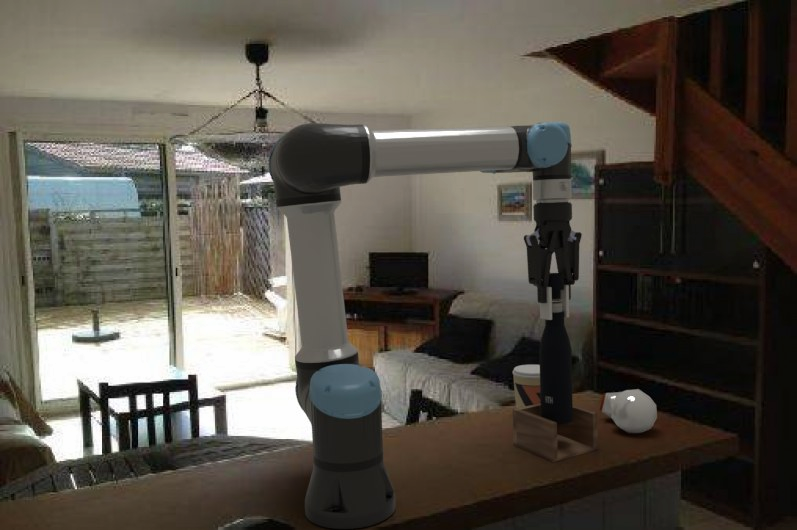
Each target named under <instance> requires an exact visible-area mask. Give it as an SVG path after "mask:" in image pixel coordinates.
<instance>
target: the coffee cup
mask: <svg viewBox="0 0 797 530" xmlns="http://www.w3.org/2000/svg"><path fill="white" fill-rule="evenodd" d="M512 375H513V386H514V387H513V389H514V390H513V391H514V399H515V400H514V401H515V409H516V408H521V407H525V406H530V405H534V404H539V403H540V364H521V365H517V366H515V367H514V368H513V370H512Z"/></svg>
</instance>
